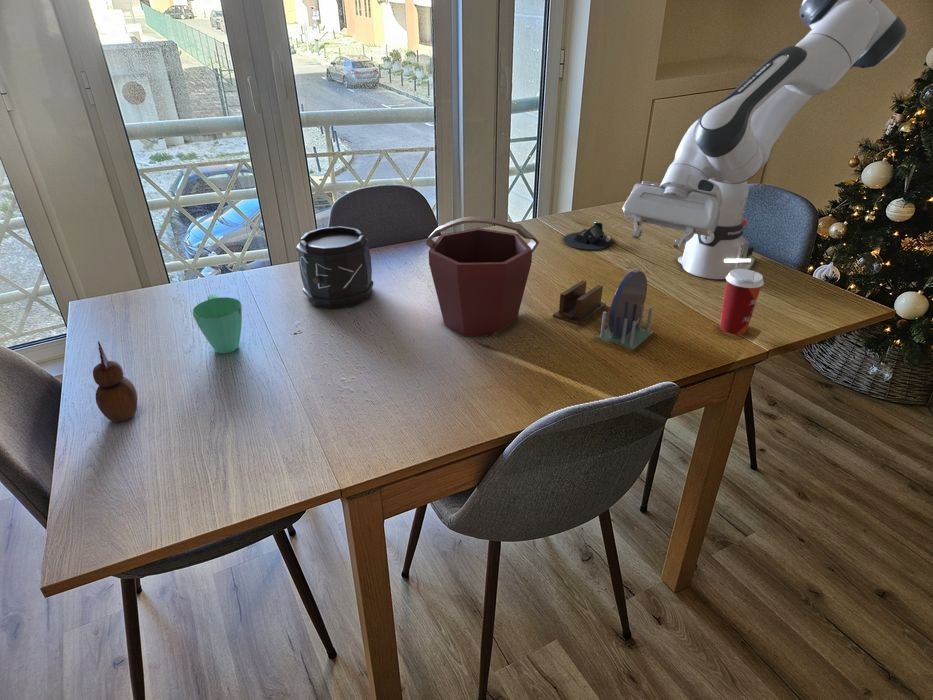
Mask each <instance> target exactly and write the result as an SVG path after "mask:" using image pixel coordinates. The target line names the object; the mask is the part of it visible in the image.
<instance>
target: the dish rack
mask: <svg viewBox="0 0 933 700" xmlns="http://www.w3.org/2000/svg"><path fill="white" fill-rule="evenodd" d="M644 310H645V304H644V305H641V310H640V316H639V319H638V321H637V322H636V321H633V324H632V330H631V331H630V333H629V334H628V335H626V336H625V334H626V326H627V318H625V319H624V324H623V331H622V338H618V337H615V336H613V335H612V334H611V332H610V329H609V326H608V327H607V328H606V319H607V311H602V320H601V328H600V333H598V334H597V335H596V336H595V337H596V338H599V339H601V340H604V341H607V342H608V343H609V342H610V343H612V344H616V345H619V346H621V347H624V348H627V349H630V350H635V349H636V348H637V347H638V346H639V345H641V344H642V343H643V342H644V341H645V340H646V339H647V338H648V337H650V336H651V335H652V334H653V333H654V331H652V330H650V329H651V322H652V317H653V310H654V308H653V307H649V309H648V314H647V315H648V316H647V321H646V328H642V326H643V325H642V324H643V316H644Z"/></svg>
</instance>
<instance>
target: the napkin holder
mask: <svg viewBox="0 0 933 700" xmlns="http://www.w3.org/2000/svg"><path fill="white" fill-rule="evenodd" d="M603 286H604V285H600V284H597V285H596V286H595V287H593V288H592V289H590V290H588V291H587V280H582V279H581V280H580V281H579V282H577V283H575V284H574V285H573V286H571V287H569V288H568V289H566V290H565V291H563V292H561V293H560V295H559V307H558V310H557V311H556V312H555V313H553V314H552V317H553V318H556V319H558V320H562V321H564V322H568V323H571V324H572V325H573V324H574V325H577V326H581V324H583V323H584V322H585V321H587V320H588V319H590V318H591V317H593V316H594V315H595V314H597V313H598V312H600V311H601V310H603V308H605V307H606V306H607V303H606V302H602V297H603V290H604V289H603V288H604V287H603ZM586 291H587V292H586Z"/></svg>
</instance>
